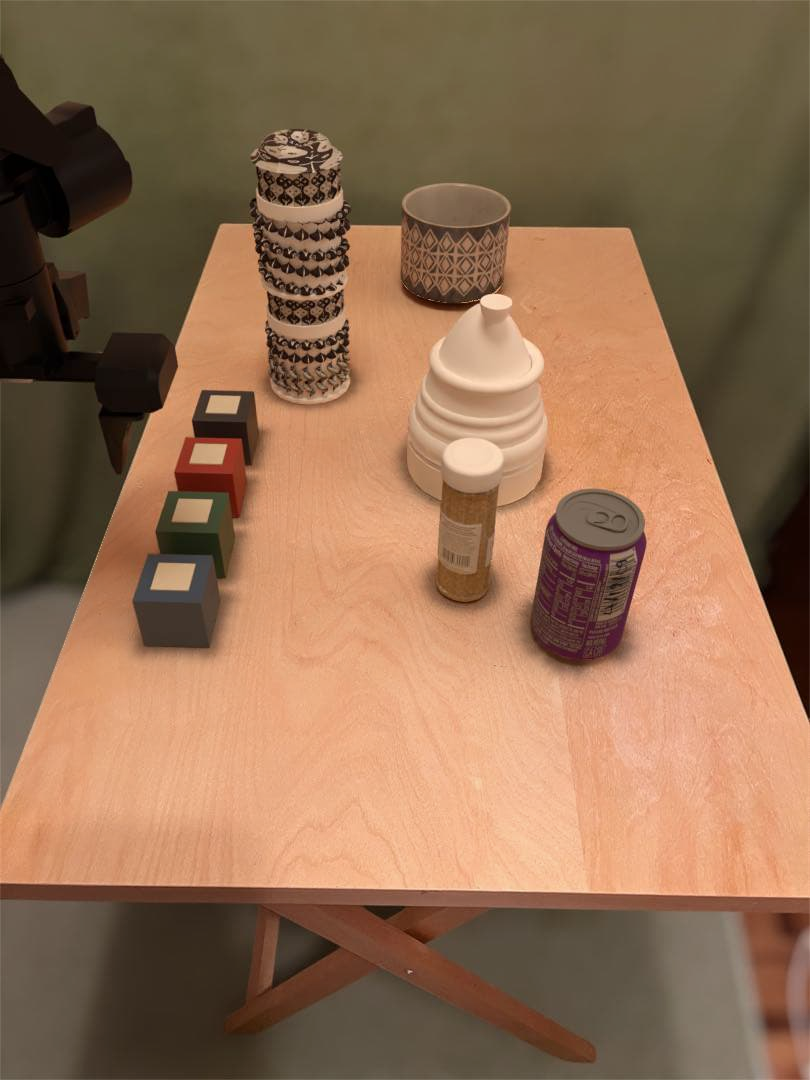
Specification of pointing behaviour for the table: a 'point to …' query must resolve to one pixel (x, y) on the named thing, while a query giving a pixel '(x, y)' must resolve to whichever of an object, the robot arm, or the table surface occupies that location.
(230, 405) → the charcoal block
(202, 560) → the slate block
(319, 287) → the decorative candle
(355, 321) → the table surface
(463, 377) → the honey pot
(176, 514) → the green block
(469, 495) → the sprinkles bottle
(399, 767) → the table surface
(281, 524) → the table surface
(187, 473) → the red cube
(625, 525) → the beverage can
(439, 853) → the table surface
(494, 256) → the planter
